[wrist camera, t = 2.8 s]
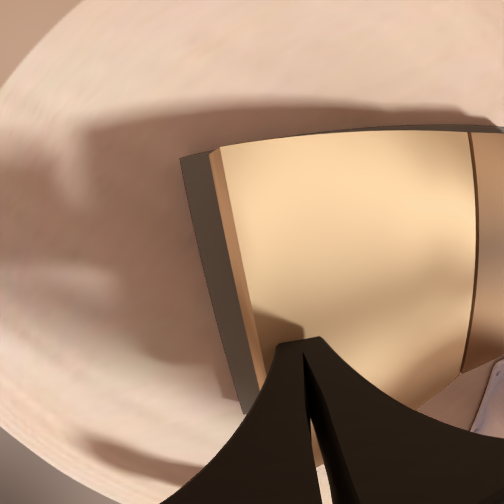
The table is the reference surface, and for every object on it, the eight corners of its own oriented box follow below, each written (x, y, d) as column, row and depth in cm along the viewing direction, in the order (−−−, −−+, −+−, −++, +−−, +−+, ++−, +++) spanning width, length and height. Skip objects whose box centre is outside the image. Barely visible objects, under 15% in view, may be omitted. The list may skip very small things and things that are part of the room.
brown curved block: (499, 339, 14) (511, 350, 13) (450, 360, 15) (461, 373, 13) (507, 135, 11) (524, 134, 10) (453, 134, 11) (471, 132, 10)
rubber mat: (495, 336, 15) (502, 343, 14) (244, 403, 17) (243, 414, 16) (500, 128, 12) (510, 127, 11) (185, 159, 13) (179, 158, 12)
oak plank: (441, 365, 15) (458, 375, 13) (276, 457, 12) (289, 479, 10) (442, 134, 11) (467, 132, 10) (208, 154, 8) (219, 147, 7)
